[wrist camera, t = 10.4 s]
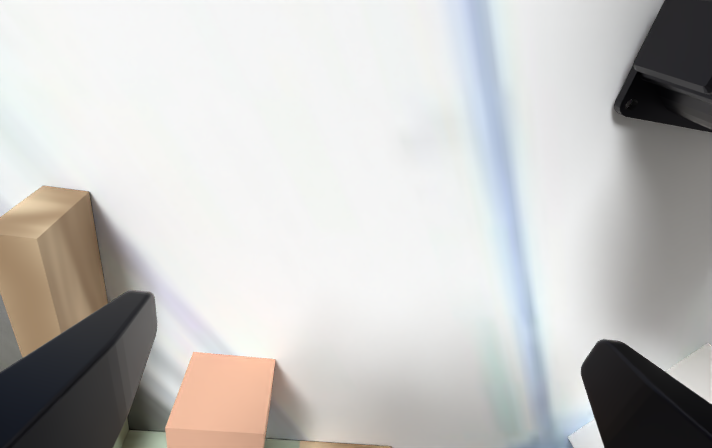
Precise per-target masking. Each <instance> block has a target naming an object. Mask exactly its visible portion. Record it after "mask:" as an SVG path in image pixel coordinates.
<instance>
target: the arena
mask: <svg viewBox="0 0 712 448" xmlns="http://www.w3.org/2000/svg"><path fill="white" fill-rule="evenodd" d="M0 293H1V296H2V299H3V302H4V305H5V307H6V310H7V313H8V316H9V319H10V322H11V325H12V328H13V331H14V334H15V337H16V340H17V343H18V346H19V349H20V352H21V354H22V357H25V356H27V355H28V354H30V353H31V352H33V351H34V350H36V349H37V348H39V347H41V346H42V345H44V344H45V343H47V342H48V341H50V340H52V339H53V338H55V337H56V336H58V335H59V334H61V333H62V332H64V331H66V330H67V329H69V328H70V327H72V326H73V325H75V324H77V323H78V322H80V321H81V320H83V319H84V318H86V317H87V316H89V315H91V314H92V313H94V312H95V311H97V310H98V309H100V308H101V307H103V306H105V305H106V304H108V301H107V295H106V289H105V283H104V277H103V271H102V265H101V259H100V253H99V248H98V242H97V236H96V230H95V224H94V218H93V212H92V206H91V200H90V194H89V192H87V191H80V190H72V189H65V188H57V187H50V186H42V187H41V188H39V189H38V190H36V191H35V192H34V193H32V194H31V195H30V196H28V197H27V198H26V199H24V200H23V201H22V202H20V203H19V204H17V205H16V206H15V207H13V208H12V209H11V210H9V211H8V212H7V213H5V214H4V215H3V216H1V217H0ZM113 448H167V440H166V432H155V431H139V430H129V425H128V419H126V421H125V423H124V425H123V428H122V430H121V432H120V434H119V436H118V438H117V440H116V442H115V445H114V447H113ZM264 448H392V447H390V446H374V445H358V444H343V443H327V442H311V441H296V440H280V439H265V444H264Z"/></svg>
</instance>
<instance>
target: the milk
mask: <svg viewBox="0 0 712 448" xmlns="http://www.w3.org/2000/svg"><path fill="white" fill-rule="evenodd" d="M665 372H666V373H668V374H669V375H670V376H672V377H673V378H675V379H676V380H678V381H679V382H681V383H682V384H683V385H685V386H686V387H688V388H689V389H691V390H692V391H693V392H695V393H696V394H698V395H699V396H701V397H702V398H703V399H705V400H706V401H708V402H709V403H711V404H712V345H711V344H709V343H707V344H705V345H704V346H702V347H701V348H699V349H698V350H696V351H695V352H693V353H692V354H690V355H689V356H687V357H686V358H685V359H683V360H682V361H680V362H679V363H677V364H676V365H674V366H673V367H671V368H670V369H668V370H667V371H665ZM568 438H569V440H570V442H571V444H572V446H573V447H574V448H604V445H603V442H602V439H601V436H600V433H599V430H598V427H597V424H596V421H595V419H594V420H592V421H591V422H589V423H588V424H586V425H585V426H583V427H582V428H580V429H579V430H577V431H576V432H574V433H573V434H571V435H570V436H568Z"/></svg>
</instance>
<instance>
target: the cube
mask: <svg viewBox="0 0 712 448" xmlns="http://www.w3.org/2000/svg"><path fill="white" fill-rule="evenodd" d="M274 368H275V359H267V358H256V357H244V356H233V355H222V354H210V353H199V352H193V354H192V357H191V360H190V362H189V365H188V368H187V370H186V373H185V376H184V379H183V381H182V384H181V387H180V389H179V392H178V395H177V398H176V400H175V403H174V406H173V408H172V411H171V414H170V416H169V419H168V422H167V425H166V427H165V430H166V440H167V448H264V444H265V437H266V430H267V423H268V417H269V410H270V402H271V393H272V385H273V376H274Z"/></svg>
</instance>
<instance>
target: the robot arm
mask: <svg viewBox="0 0 712 448" xmlns="http://www.w3.org/2000/svg"><path fill="white" fill-rule="evenodd" d="M631 99H632V103H631V105H630V106H629V107H627V108H625V107H626V104H627V102H628V101H630V100H631ZM614 107H615V110H616V112H617V113H619V114H621V115H624V116H626V117H631V118H637V119H642V120H648V121H653V122H659V123H664V124H670V125H675V126H681V127H686V128H691V129H697V130H702V131H708V132H712V0H665V1H664V3H663V5H662V7H661V9H660V11H659V13H658V15H657V17H656V19H655V21H654V23H653V25H652V27H651V29H650V31H649V33H648V35H647V37H646V39H645V41H644V43H643V45H642V47H641V49H640V51H639V53H638V55H637V57H636V59H635V61H634V65H633V67H632V69H631V71H630V73H629V75H628V77H627V79H626V81H625V83H624V85H623V87H622V89H621V91H620V93H619V95H618V97H617V99H616V101H615V105H614ZM156 332H157V317H156V306H155V297H154V295H153V294H152V293H151V292H145V291H136V290H130V291H127V292H125V293H123V294H122V295H120V296H119V297H117V298H116V299H114V300H112V301H111V302H109V303H108V304H106V305H105V306H103V307H101V308H100V309H98V310H97V311H95V312H94V313H92V314H91V315H89V316H87V317H86V318H84V319H83V320H81V321H80V322H78V323H77V324H75V325H73V326H72V327H70V328H69V329H67V330H66V331H64V332H62V333H61V334H59V335H58V336H56V337H55V338H53V339H52V340H50V341H48V342H47V343H45V344H44V345H42V346H41V347H39V348H37V349H36V350H34V351H33V352H31V353H30V354H28V355H27V356H25V357H23V358H22V359H20V360H19V361H17V362H16V363H14V364H12V365H11V366H9V367H8V368H6V369H5V370H3V371H2V372H0V448H113V447H114V445H115V442H116V440H117V438H118V436H119V434H120V432H121V430H122V428H123V425H124V423H125V421H126V419H127V416H128V414H129V411H130V408H131V406H132V403H133V400H134V397H135V394H136V391H137V388H138V386H139V383H140V380H141V377H142V374H143V371H144V368H145V365H146V362H147V359H148V357H149V354H150V351H151V348H152V345H153V342H154V339H155V336H156ZM581 376H582V380H583V383H584V386H585V389H586V392H587V395H588V399H589V402H590V405H591V408H592V411H593V414H594V418H595V421H596V424H597V427H598V430H599V433H600V436H601V439H602V442H603V445H604V448H712V404H711V403H709V402H708V401H706V400H705V399H703V398H702V397H701V396H699V395H698V394H696V393H695V392H693V391H692V390H691V389H689V388H688V387H686V386H685V385H683V384H682V383H681V382H679V381H678V380H676V379H675V378H673V377H672V376H670V375H669V374H668V373H666V372H665V371H663V370H662V369H660V368H659V367H658V366H656V365H655V364H653V363H652V362H650V361H649V360H648V359H646V358H645V357H643V356H642V355H640V354H639V353H638V352H636V351H635V350H633V349H632V348H630V347H629V346H628V345H626V344H625V343H623V342H620V341H615V340H606V339H603V340H600V341H598V342H597V343H596V345H595V346H594V348H593V349H592V350H591V352H590V353H589V355H588V356H587V358H586V359H585V361H584V362H583V364H582V367H581Z"/></svg>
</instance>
